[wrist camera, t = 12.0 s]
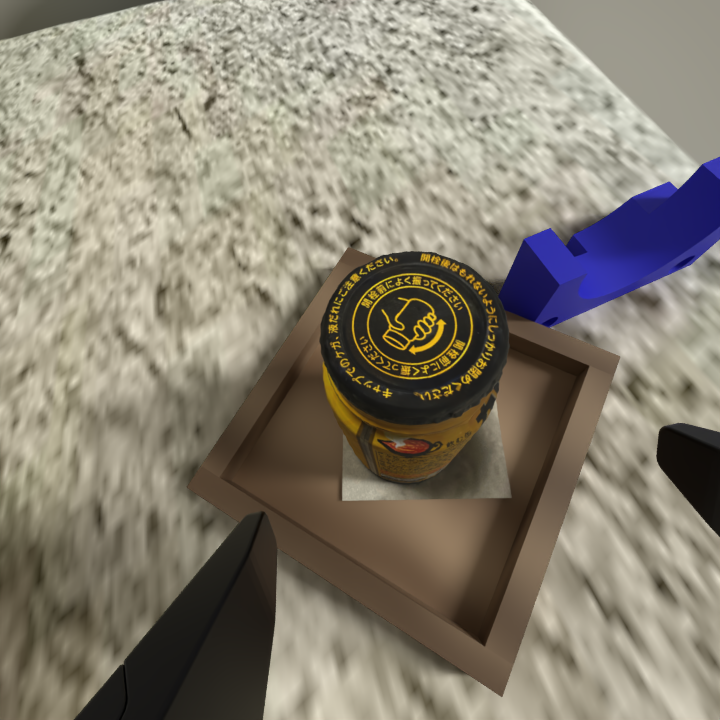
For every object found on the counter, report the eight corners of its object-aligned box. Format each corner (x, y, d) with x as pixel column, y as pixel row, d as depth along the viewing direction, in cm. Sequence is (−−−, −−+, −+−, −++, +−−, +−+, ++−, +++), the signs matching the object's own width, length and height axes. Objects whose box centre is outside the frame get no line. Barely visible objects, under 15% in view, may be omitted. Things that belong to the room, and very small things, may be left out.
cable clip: (640, 217, 26) (705, 136, 21) (688, 266, 25) (772, 192, 19) (483, 284, 25) (507, 218, 20) (521, 340, 24) (559, 285, 18)
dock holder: (489, 677, 17) (502, 697, 15) (206, 490, 22) (186, 487, 20) (599, 371, 22) (620, 356, 20) (351, 268, 27) (348, 247, 25)
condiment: (343, 369, 23) (296, 229, 12) (489, 364, 22) (581, 210, 11) (342, 501, 20) (280, 473, 9) (510, 498, 20) (658, 465, 9)
